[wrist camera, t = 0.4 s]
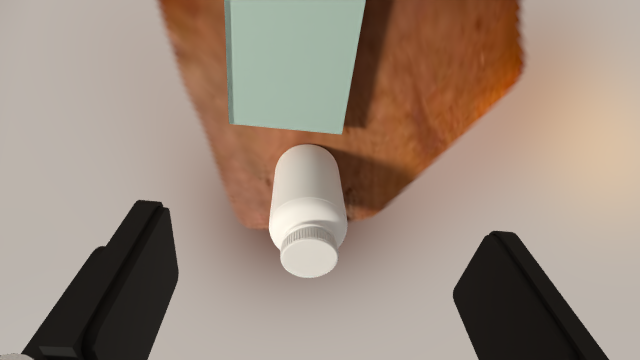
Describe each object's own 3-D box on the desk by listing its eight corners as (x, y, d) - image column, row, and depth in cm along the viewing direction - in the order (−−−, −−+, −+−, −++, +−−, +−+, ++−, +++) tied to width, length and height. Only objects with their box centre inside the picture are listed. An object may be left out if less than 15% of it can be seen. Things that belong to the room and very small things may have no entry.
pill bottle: (347, 181, 44) (364, 273, 31) (293, 201, 45) (288, 296, 33) (324, 131, 39) (332, 215, 27) (264, 156, 41) (246, 245, 29)
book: (234, 110, 38) (228, 123, 35) (230, -64, 28) (221, -65, 26) (339, 120, 39) (341, 134, 36) (366, -44, 30) (373, -42, 27)
